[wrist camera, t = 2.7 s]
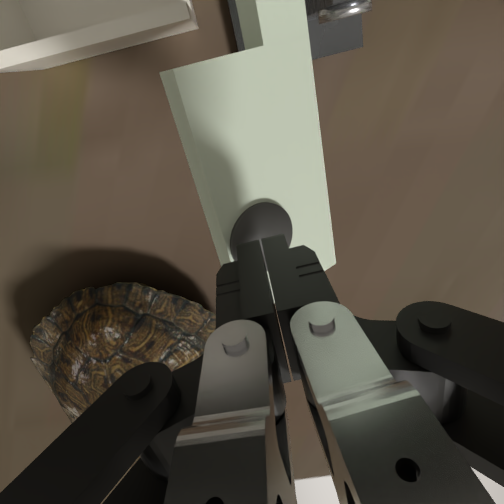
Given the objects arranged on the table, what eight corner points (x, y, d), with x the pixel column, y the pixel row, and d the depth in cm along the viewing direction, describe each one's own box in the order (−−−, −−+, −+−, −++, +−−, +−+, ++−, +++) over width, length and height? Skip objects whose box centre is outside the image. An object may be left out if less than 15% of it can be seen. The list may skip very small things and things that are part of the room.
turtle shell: (203, 277, 21) (270, 503, 28) (211, 237, 30) (261, 416, 36) (-51, 337, 21) (74, 546, 28) (29, 280, 30) (111, 450, 36)
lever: (508, -293, 12) (676, -428, 9) (466, 165, 21) (546, 175, 18) (-19, -484, 6) (-46, -1197, 3) (234, 308, 14) (299, 363, 11)
